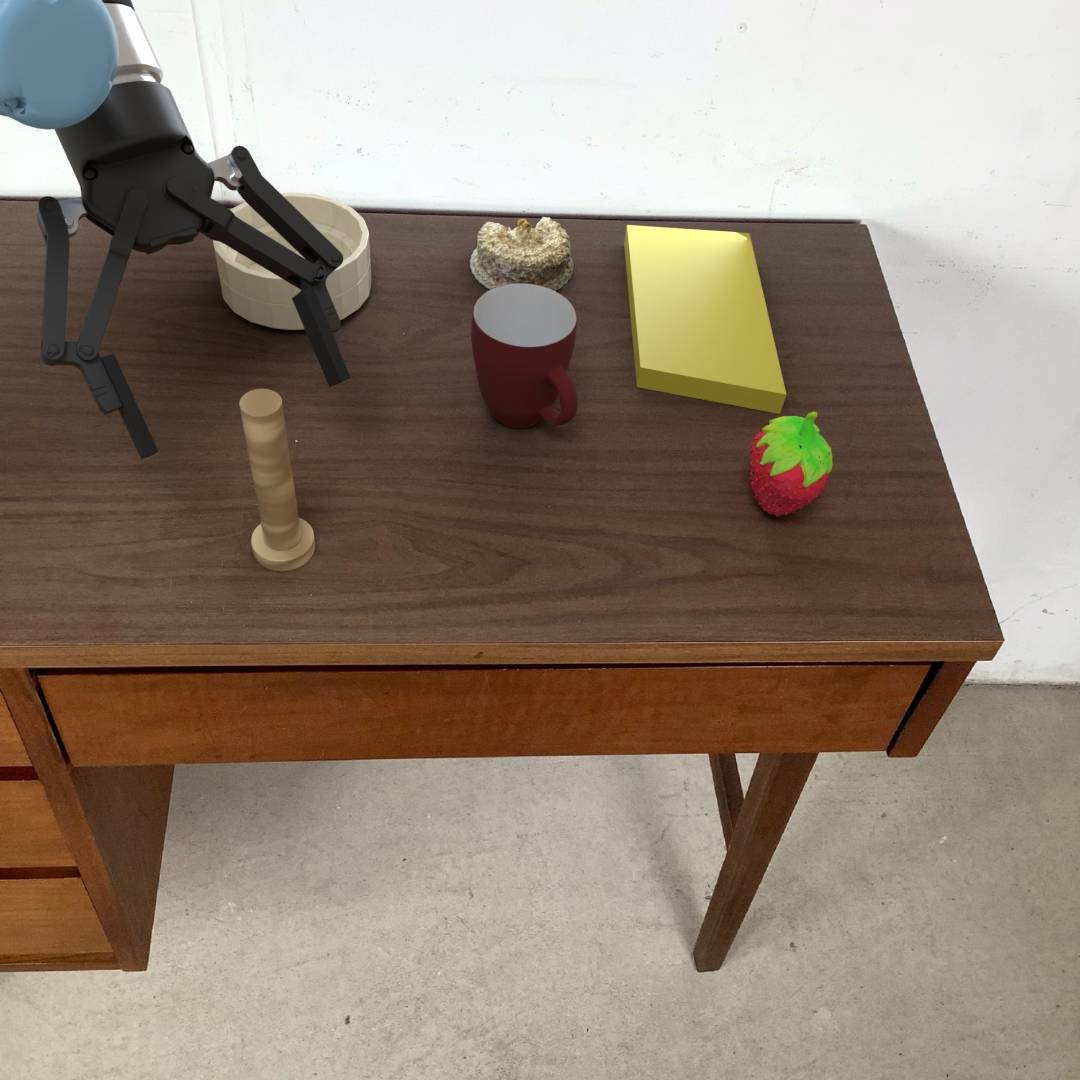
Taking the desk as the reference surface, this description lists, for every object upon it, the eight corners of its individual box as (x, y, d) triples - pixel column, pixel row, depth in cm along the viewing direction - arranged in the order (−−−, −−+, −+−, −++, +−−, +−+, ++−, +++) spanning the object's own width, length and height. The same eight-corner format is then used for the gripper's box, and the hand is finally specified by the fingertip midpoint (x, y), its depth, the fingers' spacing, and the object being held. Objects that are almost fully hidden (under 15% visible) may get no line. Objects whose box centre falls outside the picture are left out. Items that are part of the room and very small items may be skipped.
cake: (589, 292, 101) (596, 246, 97) (489, 312, 98) (493, 265, 94) (550, 228, 106) (556, 181, 102) (455, 244, 103) (456, 197, 99)
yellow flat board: (624, 244, 106) (638, 405, 90) (627, 225, 104) (642, 385, 88) (744, 252, 106) (779, 414, 91) (749, 233, 105) (786, 394, 89)
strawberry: (806, 474, 86) (842, 379, 78) (816, 543, 81) (855, 448, 74) (735, 467, 86) (764, 371, 78) (740, 536, 81) (772, 440, 73)
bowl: (263, 354, 91) (254, 296, 86) (198, 275, 97) (187, 217, 93) (398, 307, 96) (396, 250, 92) (327, 235, 103) (322, 178, 99)
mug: (607, 431, 88) (624, 334, 80) (539, 477, 83) (549, 379, 76) (517, 368, 92) (525, 270, 85) (448, 409, 88) (449, 309, 80)
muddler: (270, 581, 75) (243, 435, 64) (242, 541, 77) (212, 393, 67) (326, 555, 77) (309, 410, 66) (297, 517, 79) (276, 370, 68)
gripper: (276, 81, 76) (392, 363, 79) (-99, 171, 65) (56, 493, 69) (304, 35, 69) (430, 346, 73) (-108, 127, 58) (65, 486, 62)
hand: (249, 418), depth 71 cm, fingers open, 13 cm apart
